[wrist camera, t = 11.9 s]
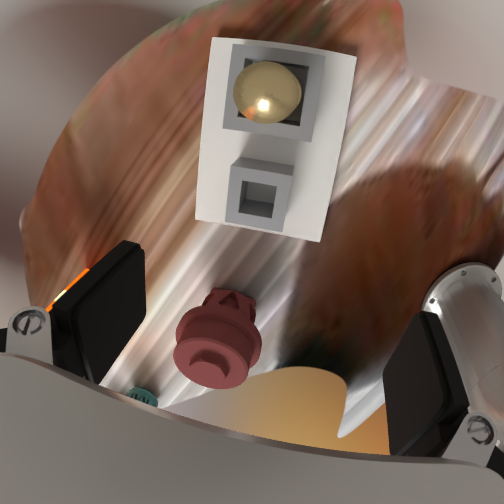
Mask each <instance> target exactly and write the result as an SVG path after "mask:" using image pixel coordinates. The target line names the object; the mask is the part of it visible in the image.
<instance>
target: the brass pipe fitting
mask: <svg viewBox="0 0 504 504" xmlns="http://www.w3.org/2000/svg"><path fill="white" fill-rule="evenodd" d="M302 97H303V88H302V85H301V82H300V81H299V79H298V78H297V77H296V76H295V75H294V74H293V73H292V72H290V71H289V70H288V69H287V68H286V67H284V66H282V65H280V64H278V63H275V62H270V61H262V62H256V63H253V64H251V65H249V66H247V67H246V68H245V69H243V70H242V71H241V73H240V74H239V75H238V77H237V78H236V80H235V83H234V87H233V98H234V102H235V104H236V106H237V108H238V110H239V111H240V112H241V113H242V114H243V115H244V116H245V117H246V118H248V119H249V120H251V121H253V122H256V123H261V124H272V123H276V122H279V121H281V120H283V119H285V118H286V117H288V116H289V115H290V114H291V113H292V112H293V111H294V110H295V108H296V107H297V106H298V105H299V104H300V102H301V100H302Z"/></svg>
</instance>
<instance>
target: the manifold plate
mask: <svg viewBox="0 0 504 504" xmlns="http://www.w3.org/2000/svg"><path fill="white" fill-rule="evenodd" d="M356 59H357V57H355V56H351V55H346V54H342V53H337V52H332V51H327V50H322V49H317V48H311V47H305V46H299V45H292V44H285V43H278V42H269V41H260V40H249V39H236V38H218V37H212V42H211V50H210V58H209V66H208V74H207V83H206V92H205V101H204V111H203V121H202V132H201V144H200V156H199V169H198V182H197V198H196V215H195V219H196V220H202V221H208V222H213V223H219V224H225V225H230V226H236V227H241V228H247V229H252V230H257V231H263V232H268V233H274V234H279V235H284V236H289V237H295V238H300V239H305V240H310V241H315V242H320V239H321V235H322V231H323V227H324V222H325V218H326V214H327V210H328V205H329V201H330V196H331V192H332V187H333V183H334V178H335V173H336V169H337V164H338V159H339V154H340V149H341V144H342V139H343V134H344V129H345V124H346V118H347V113H348V107H349V102H350V96H351V90H352V84H353V78H354V72H355V65H356ZM262 61H270V62H275V63H278V64H280V65H282V66H284V67H286V68H287V69H288V70H289V71H290V72H292V73H293V74H294V75H295V76H296V77H297V78H298V79H299V81H300V82H301V85H302V88H303V97H302V100H301V102H300V104H299V105H298V106H297V107H296V108H295V110H294V111H293V112H292V113H291V114H290V115H289V116H288V117H286V118H285V119H283V120H281V121H279V122H276V123H272V124H261V123H256V122H253V121H251V120H249V119H248V118H246V117H245V116H244V115H243V114H242V113H241V112H240V111H239V110H238V108H237V106H236V104H235V102H234V98H233V87H234V83H235V80H236V78H237V77H238V75H239V74H240V73H241V71H242V70H243V69H245V68H246V67H247V66H249V65H251V64H253V63H256V62H262Z"/></svg>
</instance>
